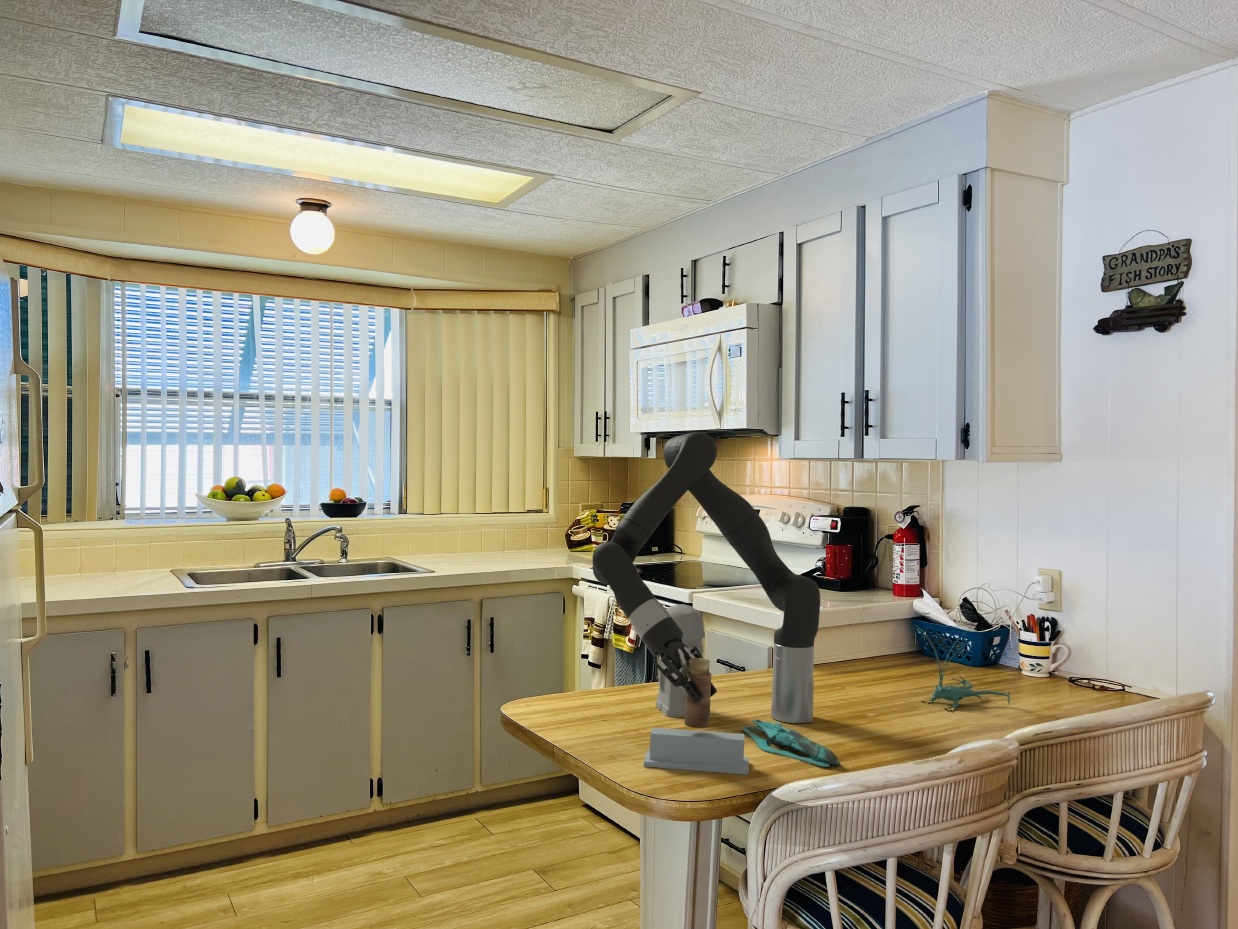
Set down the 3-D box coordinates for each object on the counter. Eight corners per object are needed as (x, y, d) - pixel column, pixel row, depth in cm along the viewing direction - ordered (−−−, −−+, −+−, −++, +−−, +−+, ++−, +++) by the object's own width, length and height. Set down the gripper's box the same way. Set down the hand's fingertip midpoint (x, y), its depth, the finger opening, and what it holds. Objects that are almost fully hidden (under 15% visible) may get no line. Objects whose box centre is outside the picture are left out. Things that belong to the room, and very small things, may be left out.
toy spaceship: (813, 779, 174) (815, 753, 174) (724, 734, 197) (725, 711, 197) (855, 770, 180) (857, 745, 180) (764, 727, 203) (765, 705, 203)
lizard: (881, 700, 232) (882, 619, 231) (954, 690, 242) (956, 612, 242) (948, 725, 211) (950, 636, 211) (1025, 713, 222) (1027, 628, 221)
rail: (748, 762, 179) (749, 732, 179) (748, 774, 172) (749, 743, 172) (647, 754, 182) (648, 725, 182) (643, 766, 175) (644, 735, 175)
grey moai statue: (713, 717, 210) (717, 609, 209) (673, 721, 206) (676, 610, 205) (684, 700, 223) (687, 599, 223) (646, 704, 219) (649, 600, 219)
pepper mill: (709, 721, 179) (712, 658, 179) (708, 729, 174) (711, 664, 174) (685, 720, 180) (687, 656, 179) (683, 727, 175) (686, 662, 175)
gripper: (649, 620, 175) (702, 693, 168) (685, 611, 187) (736, 679, 180) (624, 643, 178) (676, 717, 171) (661, 633, 190) (711, 701, 183)
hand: (706, 697), depth 176 cm, fingers closed on pepper mill, 4 cm apart
